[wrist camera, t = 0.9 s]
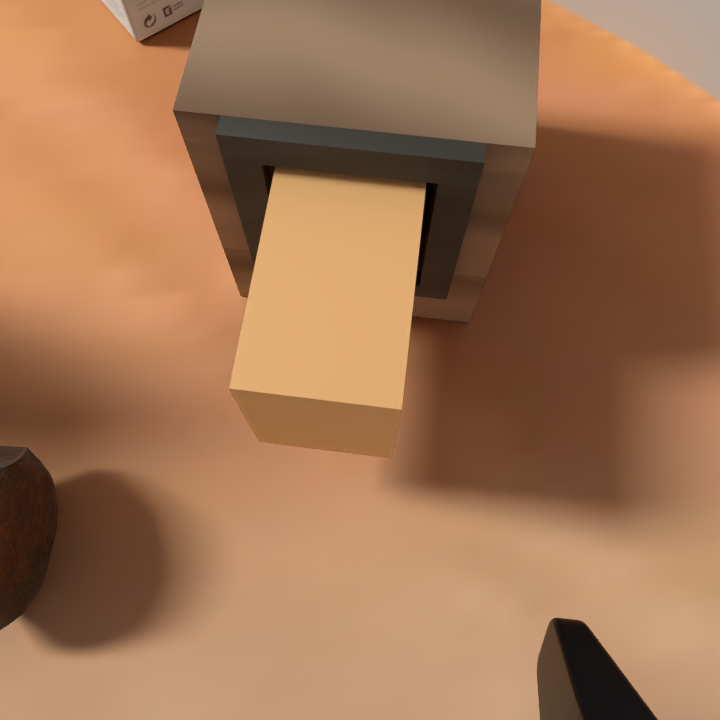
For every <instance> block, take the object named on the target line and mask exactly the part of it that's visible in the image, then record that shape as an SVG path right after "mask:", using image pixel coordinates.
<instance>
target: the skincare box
mask: <svg viewBox="0 0 720 720" xmlns="http://www.w3.org/2000/svg"><path fill="white" fill-rule="evenodd" d="M101 1H102V2H103V3H104V4H105V5H106V7H107V8H108V9H109V10H110V11H111V12H112V13H113V15H114V16H115V17H116V18H117V19H118V20H119V21H120V22H121V24H122V25H123V26H124V27H125V28H126V29H127V31H128V32H129V33H130V34H131V35H132V36H133V38H134V39H135V40H136V41H141V40H143V39H145V38H147V37H149V36H151V35H153V34H155V33H157V32H159V31H160V30H162V29H164V28H166V27H168V26H170V25H172V24H173V23H175V22H177V21H179V20H181V19H182V18H184V17H186V16H188V15H190V14H192V13H194V12H196V11H198V10H200V9H202V7H203V3H204V0H101Z"/></svg>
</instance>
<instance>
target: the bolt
mask: <svg viewBox="0 0 720 720" xmlns="http://www.w3.org/2000/svg"><path fill="white" fill-rule="evenodd" d="M56 517H57V509H56V497H55V486H54V483H53V480H52V477H51V475H50V474H49V472H48V470H47V469H46V468H45V466H44V465H43V464H42V462H41V461H40V460H39V459H38V458H37V457H36V456H35V455H34V454H33V453H32V452H31V451H30V450H29V449H28V448H23V447H7V446H0V630H1V629H3V628H4V627H6V626H7V625H9V624H10V623H12V622H13V621H14V620H15V619H17V618H18V617H19V616H20V615H21V614H22V613H23V612H24V611H25V610H26V608H27V607H28V605H29V603H30V602H31V600H32V598H33V596H34V595H35V593H36V591H37V589H38V588H39V586H40V584H41V582H42V579H43V577H44V575H45V573H46V570H47V567H48V562H49V557H50V553H51V549H52V545H53V541H54V537H55V532H56Z"/></svg>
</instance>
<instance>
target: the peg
mask: <svg viewBox="0 0 720 720" xmlns="http://www.w3.org/2000/svg"><path fill="white" fill-rule="evenodd" d="M425 192H426V182H417V181H407V180H398V179H389V178H380V177H370V176H361V175H352V174H343V173H333V172H324V171H315V170H305V169H296V168H287V167H278V166H275V170H274V175H273V180H272V184H271V189H270V194H269V199H268V204H267V208H266V213H265V218H264V223H263V227H262V232H261V237H260V242H259V247H258V251H257V256H256V261H255V266H254V270H253V275H252V280H251V285H250V290H249V294H248V299H247V304H246V309H245V313H244V318H243V323H242V328H241V333H240V337H239V342H238V347H237V352H236V356H235V361H234V366H233V371H232V376H231V380H230V385H229V390H230V391H231V393H232V395H233V397H234V398H235V400H236V402H237V404H238V405H239V407H240V409H241V411H242V413H243V414H244V416H245V418H246V420H247V421H248V423H249V425H250V427H251V428H252V430H253V432H254V434H255V435H256V437H257V439H258V441H259V442H266V443H274V444H282V445H290V446H298V447H306V448H314V449H322V450H330V451H337V452H345V453H353V454H361V455H369V456H377V457H385V458H392V453H393V448H394V443H395V439H396V434H397V429H398V425H399V420H400V415H401V411H402V402H403V393H404V384H405V375H406V366H407V357H408V347H409V338H410V329H411V320H412V311H413V302H414V292H415V283H416V274H417V265H418V256H419V247H420V237H421V228H422V219H423V210H424V201H425Z"/></svg>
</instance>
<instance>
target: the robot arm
mask: <svg viewBox="0 0 720 720" xmlns="http://www.w3.org/2000/svg"><path fill="white" fill-rule="evenodd" d="M537 682H538V696H539V709H540V720H658V719H657V718H656V716H655V715H654V714H653V712H652V711H651V710H650V708H649V707H648V706H647V704H646V703H645V702H644V700H643V699H642V698H641V696H640V695H639V694H638V692H637V691H636V690H635V688H634V687H633V686H632V684H631V683H630V682H629V680H628V679H627V678H626V676H625V675H624V674H623V672H622V671H621V670H620V668H619V667H618V666H617V664H616V663H615V662H614V660H613V659H612V658H611V656H610V655H609V654H608V652H607V651H606V650H605V648H604V647H603V646H602V644H601V643H600V642H599V640H598V639H597V638H596V636H595V635H594V634H593V632H592V631H591V630H590V628H589V627H588V626H587V625H586V624H585V623H583V622H582V621H579V620H572V619H563V618H554V619H552V620H551V621H550V623H549V625H548V628H547V631H546V634H545V637H544V641H543V644H542V647H541V650H540V653H539V657H538V662H537Z"/></svg>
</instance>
